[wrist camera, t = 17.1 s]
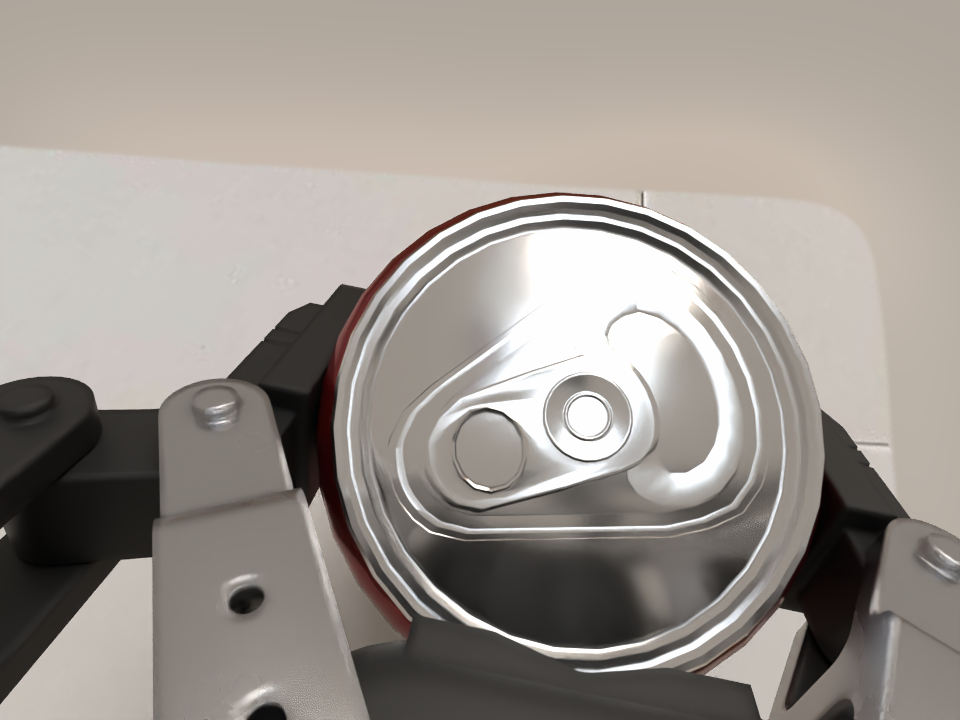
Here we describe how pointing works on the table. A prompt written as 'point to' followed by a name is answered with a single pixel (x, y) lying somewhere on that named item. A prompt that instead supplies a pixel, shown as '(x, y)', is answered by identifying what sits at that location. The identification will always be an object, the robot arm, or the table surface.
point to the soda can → (573, 437)
